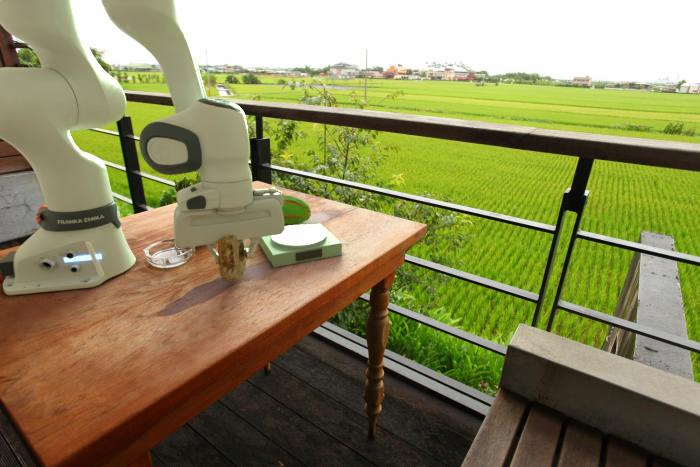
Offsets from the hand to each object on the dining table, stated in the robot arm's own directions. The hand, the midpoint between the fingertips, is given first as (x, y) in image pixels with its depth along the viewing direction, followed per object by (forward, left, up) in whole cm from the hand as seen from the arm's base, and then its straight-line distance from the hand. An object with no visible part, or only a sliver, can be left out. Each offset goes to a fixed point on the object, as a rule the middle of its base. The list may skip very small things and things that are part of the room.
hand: (234, 259), depth 76 cm
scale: (+16, +9, -5) cm, 19 cm away
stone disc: (0, 0, -4) cm, 4 cm away
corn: (+17, +30, -5) cm, 35 cm away
